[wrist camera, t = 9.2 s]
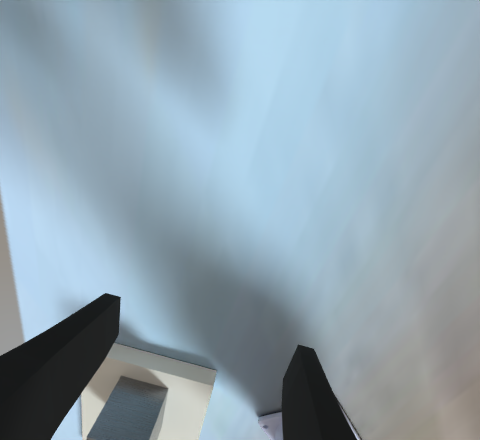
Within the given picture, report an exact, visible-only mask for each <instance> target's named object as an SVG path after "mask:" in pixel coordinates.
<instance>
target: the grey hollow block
mask: <svg viewBox="0 0 480 440" xmlns="http://www.w3.org/2000/svg"><path fill="white" fill-rule="evenodd" d="M167 394H168V388H165V387H161V386H158V385H154V384H150V383H147V382H143V381H139V380H136V379H132V378H128V377H125V376H121V377H120V378H119V380H118V382H117V384H116V385H115V387H114V389H113V391H112V393H111V394H110V396H109V398H108V400H107V401H106V403H105V405H104V407H103V409H102V410H101V412H100V414H99V416H98V417H97V419H96V421H95V423H94V425H93V426H92V428H91V430H90V432H89V434H88V435H87V440H157V439H158V436H159V433H160V431H161V428H162V423H163V417H164V411H165V406H166V400H167Z"/></svg>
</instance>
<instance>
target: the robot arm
mask: <svg viewBox="0 0 480 440" xmlns="http://www.w3.org/2000/svg"><path fill="white" fill-rule="evenodd" d="M120 298H121V297H118V296H115V295H111V294H107V293H105V294H103V295H102V296H100V297H99V298H97V299H96V300H94V301H92V302H91V303H89V304H88V305H86V306H85V307H83V308H82V309H80V310H79V311H77V312H75V313H74V314H72V315H71V316H69V317H68V318H66V319H64V320H63V321H61V322H59V323H58V324H56V325H55V326H53V327H51V328H50V329H48V330H46V331H45V332H43V333H41V334H39V335H38V336H36V337H34V338H32V339H31V340H29V341H27V342H25V343H24V344H22V345H20V346H18V347H17V348H14V349H12V350H11V351H9V352H7V353H5V354H3V355H1V356H0V440H51V438H52V436H53V435H54V433H55V431H56V430H57V428H58V427H59V425H60V424H61V422H62V421H63V419H64V417H65V416H66V415H67V413H68V412H69V410H70V409H71V407H72V406H73V405H74V403H75V402H76V400H77V399H78V397H79V396H80V395H81V393H82V392H83V390H84V389H85V387H86V386H87V385H88V383H89V382H90V380H91V379H92V377H93V376H94V374H95V373H96V372H97V370H98V369H99V367H100V366H101V364H102V363H103V361H104V360H105V358H106V356H107V355H108V353H109V351H110V349H111V348H112V346H113V344H114V342H115V340H116V338H117V336H118V334H119V317H120ZM258 424H259V425H260V427H261V428H262V429H263V431H264V432H265V433H266V434H267V436H268V437H269V438H270V440H361V439H360V437H359V436H358V434H357V432H356V431H355V429H354V428H353V426H352V424H351V423H350V421H349V419H348V418H347V416H346V414H345V413H344V411H343V409H342V408H341V406H340V404H339V403H338V401H337V399H336V397H335V395H334V393H333V391H332V389H331V387H330V384H329V382H328V380H327V378H326V376H325V373H324V371H323V369H322V366H321V364H320V362H319V359H318V357H317V355H316V352H315V350H314V349H313V348H309V347H305V346H301V345H298V346H297V349H296V351H295V353H294V355H293V358H292V360H291V362H290V365H289V367H288V369H287V371H286V374H285V376H284V378H283V391H282V412H279V413H275V414H270V415H266V416H261V417H259V418H258Z"/></svg>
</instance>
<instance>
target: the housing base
mask: <svg viewBox="0 0 480 440" xmlns="http://www.w3.org/2000/svg"><path fill="white" fill-rule="evenodd" d="M216 373H217V371H216V370H212V369H209V368H205V367H201V366H198V365H194V364H190V363H187V362H183V361H179V360H176V359H172V358H168V357H165V356H161V355H157V354H154V353H150V352H146V351H143V350H139V349H135V348H131V347H128V346H124V345H120V344H117V343H114V344H113V346H112V348H111V349H110V351H109V353H108V355H107V356H106V358H105V360H104V361H103V363H102V364H101V366H100V367H99V369H98V370H97V372H96V373H95V374H94V376H93V377H92V379H91V380H90V382H89V383H88V385H87V386H86V387H85V389H84V390H83V392H82V393H81V405H82V438H83V440H87V435H88V434H89V432H90V430H91V428H92V426H93V425H94V423H95V421H96V419H97V417H98V416H99V414H100V412H101V410H102V409H103V407H104V405H105V403H106V401H107V400H108V398H109V396H110V394H111V393H112V391H113V389H114V387H115V385H116V384H117V382H118V380H119V378H120V377H121V376H125V377H128V378H132V379H136V380H139V381H143V382H147V383H150V384H154V385H158V386H161V387H165V388H168V394H167V400H166V406H165V411H164V417H163V423H162V428H161V431H160V433H159V436H158V439H157V440H198V439H199V436H200V432H201V429H202V425H203V422H204V418H205V415H206V411H207V407H208V404H209V400H210V397H211V393H212V390H213V386H214V382H215V377H216Z"/></svg>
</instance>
